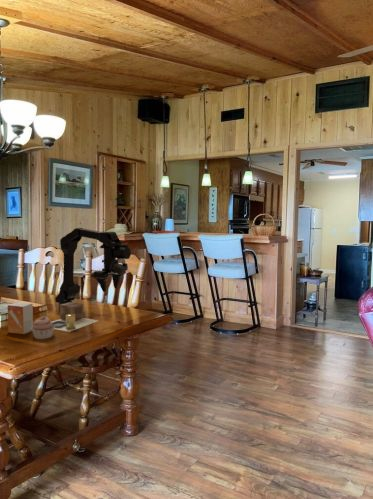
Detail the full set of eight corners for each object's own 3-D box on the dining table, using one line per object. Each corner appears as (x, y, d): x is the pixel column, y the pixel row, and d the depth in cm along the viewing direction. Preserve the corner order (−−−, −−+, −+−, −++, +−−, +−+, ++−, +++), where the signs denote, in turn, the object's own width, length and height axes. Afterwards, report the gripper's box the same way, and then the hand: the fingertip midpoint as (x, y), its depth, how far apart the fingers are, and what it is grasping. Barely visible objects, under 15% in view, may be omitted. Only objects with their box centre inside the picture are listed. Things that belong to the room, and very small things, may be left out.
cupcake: (32, 344, 163) (31, 319, 162) (30, 337, 172) (30, 313, 171) (56, 341, 167) (56, 317, 166) (54, 334, 175) (53, 311, 174)
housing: (60, 319, 194) (59, 304, 194) (70, 315, 201) (70, 301, 200) (73, 321, 191) (73, 306, 190) (83, 317, 197) (83, 303, 197)
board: (38, 328, 184) (38, 317, 183) (69, 318, 202) (69, 307, 201) (69, 334, 176) (69, 322, 175) (99, 323, 194) (98, 312, 193)
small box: (7, 335, 174) (6, 304, 173) (18, 330, 180) (17, 301, 179) (23, 337, 172) (22, 306, 171) (33, 332, 178) (32, 303, 177)
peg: (64, 328, 180) (63, 315, 179) (70, 326, 183) (70, 313, 183) (71, 330, 178) (70, 316, 178) (77, 327, 182) (77, 314, 181)
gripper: (111, 261, 185) (112, 295, 186) (134, 256, 201) (134, 288, 203) (92, 259, 190) (92, 292, 191) (116, 255, 206) (116, 286, 208)
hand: (110, 290), depth 198 cm, fingers open, 9 cm apart
